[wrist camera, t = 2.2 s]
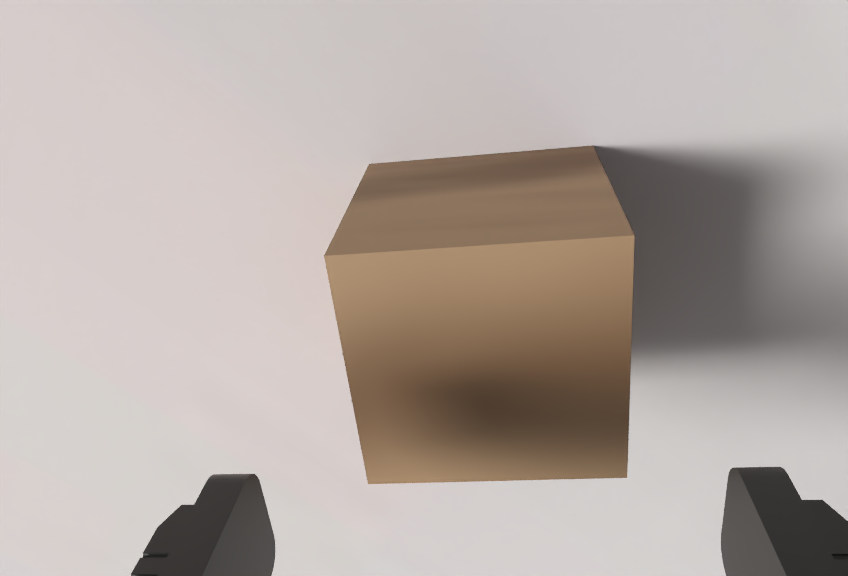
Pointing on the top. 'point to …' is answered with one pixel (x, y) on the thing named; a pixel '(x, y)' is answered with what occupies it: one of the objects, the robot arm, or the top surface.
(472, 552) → the top surface
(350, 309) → the walnut block
